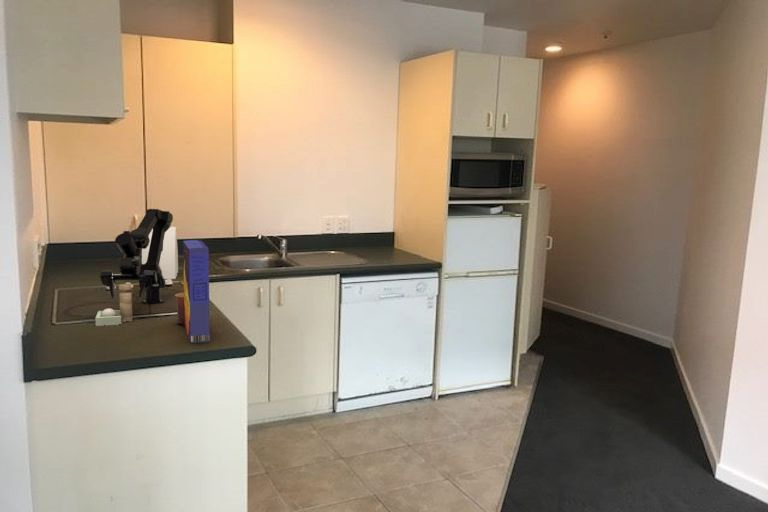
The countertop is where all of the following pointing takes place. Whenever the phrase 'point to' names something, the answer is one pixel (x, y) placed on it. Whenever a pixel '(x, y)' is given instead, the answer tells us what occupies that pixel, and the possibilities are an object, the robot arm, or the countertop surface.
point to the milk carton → (166, 254)
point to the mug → (180, 308)
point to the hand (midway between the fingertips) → (126, 297)
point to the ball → (108, 313)
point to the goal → (108, 319)
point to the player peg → (125, 302)
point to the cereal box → (196, 291)
